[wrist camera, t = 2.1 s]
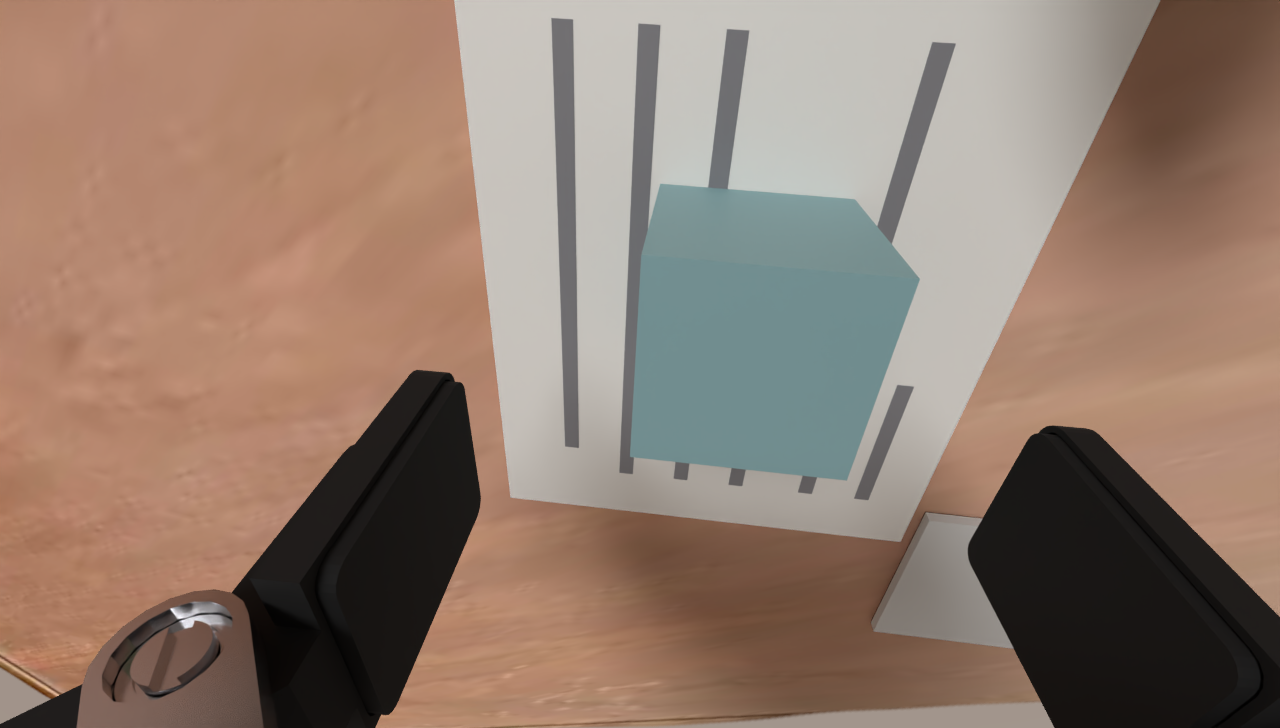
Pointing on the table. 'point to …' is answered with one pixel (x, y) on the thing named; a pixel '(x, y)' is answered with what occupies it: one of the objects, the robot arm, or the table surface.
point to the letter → (778, 163)
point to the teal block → (763, 330)
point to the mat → (940, 588)
